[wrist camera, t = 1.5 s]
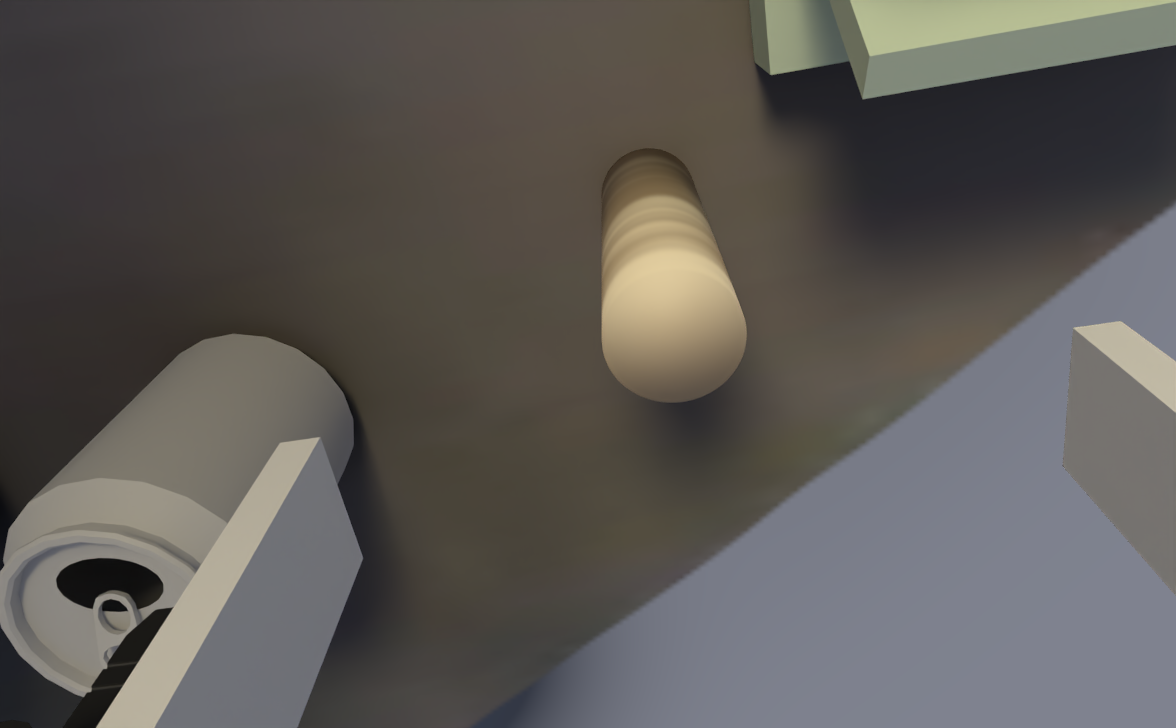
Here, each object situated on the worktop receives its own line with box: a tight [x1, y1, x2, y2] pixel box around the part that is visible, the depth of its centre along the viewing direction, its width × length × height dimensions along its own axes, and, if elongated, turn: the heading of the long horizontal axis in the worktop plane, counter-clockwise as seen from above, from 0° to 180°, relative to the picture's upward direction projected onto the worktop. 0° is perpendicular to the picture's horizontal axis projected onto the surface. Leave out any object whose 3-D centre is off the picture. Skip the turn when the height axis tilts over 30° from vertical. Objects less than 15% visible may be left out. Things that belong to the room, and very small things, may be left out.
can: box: [0, 334, 354, 697], centre depth 29 cm, size 8×8×12 cm
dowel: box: [602, 149, 747, 403], centre depth 25 cm, size 3×3×12 cm
